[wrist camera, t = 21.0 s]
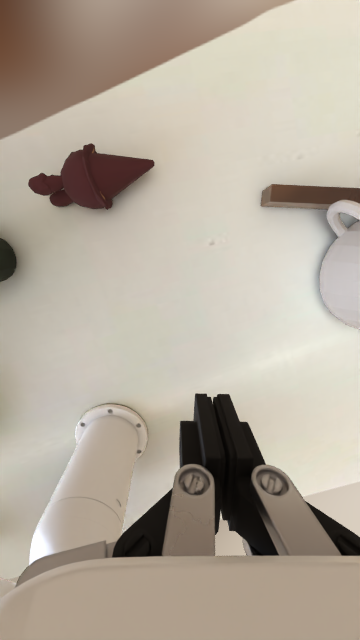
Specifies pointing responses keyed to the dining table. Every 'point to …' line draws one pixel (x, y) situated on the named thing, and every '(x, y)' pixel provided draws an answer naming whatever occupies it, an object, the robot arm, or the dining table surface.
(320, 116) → the dining table surface
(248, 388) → the dining table surface
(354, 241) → the mug
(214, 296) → the dining table surface
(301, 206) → the corner stop
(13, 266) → the potion bottle
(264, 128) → the dining table surface
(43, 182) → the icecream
